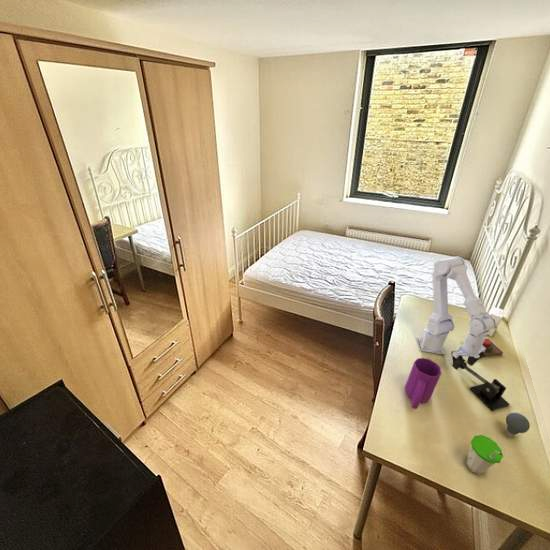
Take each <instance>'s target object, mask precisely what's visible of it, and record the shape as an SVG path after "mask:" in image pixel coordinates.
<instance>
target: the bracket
mask: <svg viewBox="0 0 550 550" xmlns="http://www.w3.org/2000/svg"><path fill="white" fill-rule="evenodd" d="M489 382H490V381H488V380H487V381H486V382H485V383H481V384H478V385H474V386H470V387H469V390H470V391H471V393H473V394H474V396H476V398H478V399H479V401H480V402H482V403H483V404H484V405H485V406H486V407H487V408H488V409H489V410H490V411H491V412H494V411H497V410H501V409H504V408H508V407H509V406H510V403H509V402H508V400H506V399H505V398H504V397H503V395H504V393H505V392H506V390H507V387H506V386H505V385H504V384H502V382H500V381H499V380H498V379H497V378H493V380H492V382H490V383H493V382H494V383H495V384H497V385H498V386H499V387H501V388H500V391H499V393H497V391H498V390H497V389H496V388H495V387H494V386H493V385H491V384H490V383H489Z"/></svg>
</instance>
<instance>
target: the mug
mask: <svg viewBox="0 0 550 550" xmlns="http://www.w3.org/2000/svg"><path fill="white" fill-rule="evenodd" d="M441 375H442V368H441V367H440V365H439V364H438V363H437V362H435V361H433V360H432V359H430V358H427V357H420V358H416V359H415V361H413V365H412V367H411V369H410V373H409V375H408V377H407V380H406V383H405V386H404V393H405V395H406V396H407V397H408V399H410V400H411V403H410V407H411V409H413V410H416V409H419V405H420V404H427V403H428V402H429V401H430V400H431V398H432V396H433V394H434V391H435V389H436V386H437V384H438V381H439V380H440V377H441Z"/></svg>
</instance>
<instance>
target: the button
mask: <svg viewBox="0 0 550 550" xmlns="http://www.w3.org/2000/svg"><path fill="white" fill-rule="evenodd" d="M488 339H489V338H485V340H484V342H483V344H482V345H484V346H487V347H489V346H490V344H491V342H492V341H491V340H490V339H489V340H490V341H491V342H490V341H489V340H488Z"/></svg>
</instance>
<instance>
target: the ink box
mask: <svg viewBox="0 0 550 550" xmlns="http://www.w3.org/2000/svg"><path fill="white" fill-rule="evenodd" d="M504 311H505V310H504V309H503V308H499V307H496V306H494V305H492V306H491V308H490V310H489V312H487V313H488V314H489V315H490V316H492V317H493V318H494V319H495V327H494V328H493V329H491V330H489V332H488V334H487V336H490V337H493V336H494V334H495V332H496V330H497V328H498V326H499V325H500V323H501V321H502V320H503V318H504Z"/></svg>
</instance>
